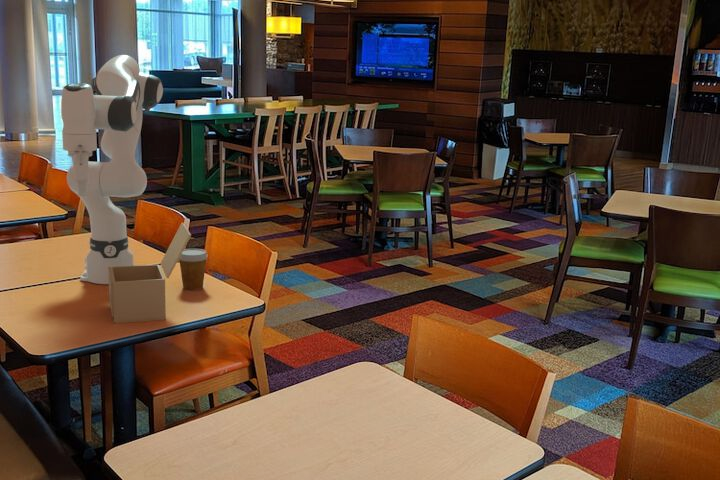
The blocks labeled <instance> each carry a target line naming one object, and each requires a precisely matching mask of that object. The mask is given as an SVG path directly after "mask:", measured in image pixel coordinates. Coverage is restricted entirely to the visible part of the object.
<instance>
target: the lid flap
mask: <svg viewBox="0 0 720 480" xmlns="http://www.w3.org/2000/svg"><path fill="white" fill-rule="evenodd" d="M191 236H192V234H191V233H190V231H189V230H188V228H187V226H186V225H185V223H184V222H181V224H180V225H179V227H178V229H177V231H176V233H175V235H174V237H173V238H172V240H171V243H170V244H169V246H168V248H167V250H166V252H165V254H164V255H163V257H162V259H161V261H160V264H159V265H161V266H160V267H161V268H162V272H163V273H164V277H165V279H170V276H171V274H172V273H173V270H174V269H175V267H176V265H177V263H178V261H179V258H180V256H181V254H182V252H183V250H184V249H185V248H186V246H187V245H188V242H189V241H190V239H191Z"/></svg>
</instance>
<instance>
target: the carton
mask: <svg viewBox="0 0 720 480" xmlns="http://www.w3.org/2000/svg"><path fill="white" fill-rule="evenodd" d="M161 268H162V267H161V266H160V264H142V265H140V264H139V265H134V266H119V267H108V277H109V284H108V296H109V297H108V299H109V307H110V312H111V317H112V318H113V324H125V323H138V322H139V323H140V322H149V321H151V322H153V321H163V320H164V321H165V320H166V318H167V317H166V315H167V313H166V311H167V310H166V277H165V275H164V274H163V273H164V272H163V270H162V269H161Z"/></svg>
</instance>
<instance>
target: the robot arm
mask: <svg viewBox="0 0 720 480" xmlns="http://www.w3.org/2000/svg"><path fill="white" fill-rule="evenodd" d="M94 92H95V93H96V94H94ZM163 94H164V88H163V83H162V80H161V79H160V78H159V77H157V76H155V75H153V74H147V73H143V72H141V71H140V66H139V63H138V62H137V60H136V59H135V58H133V57H132V56H130V55H127V54H120V55H119V54H118V55H116V56H114V57H111V58H110V59H109V60H108V61H107V62H105V63H104V64H103V65H102V66H101V67H100V69H99V70H98V71H97V72H96V75H95V77H94V91H93V87H92V85H90V84H89V83H88V84H87V83H83V82H74V83H69V84H66V85H64V86H63V88H62V92H61V100H60V104H61V105H60V110H61V111H60V113H61V116H60V117H61V119H62V123H63V124H62V126H63V127H62V129H61V131H62V133H61V134H62V135H61V136H62V150H63V151H66V152H67V156H68V157H71V161H72V165H70V167H69V168H68V170H67V173H66V182H67V185H68V187H69V189H70V190H71V191H72V192H73V193H74V194H76V195H77V196H78V197H79V198H80V199H81V201H82V202H83V204H84V205H85V207H86V210H87V212H88V216H89V222H90V234H91V235H90V237H89V238H90V239H89V247H90V251H89V252H88V253H87V254H86V256H85V257H84V264H85V270H84V271H83V273H82V274H81V276H80V277H79V280H80V281H83V282H88V283H92V284H97V285H109V277H108V267H119V266H135V265H134V264H135V263H134V262H135V261H134V253H133V252H131V251H130V250H129V237H128V236H127V216H126V214H125V212H124V211H123V210H122V209H121V208H120V207H117V206H116V205H115V204H114V203H113V201H112V200H111V197H113V198H115V197H116V198H125V199H126V198H131V197H132V198H133V197H139V196H142V194H143V193H144V192H145V190H146V188H147V185H148V184H147V183H148V178H147V174H146V171H145V170H144V169H143V167H141V166H140V165H139V164H138V162H137V161H136V149H137V145H138V141H139V138H140V135H141V131H142V126H143V118H144V117H143V111H144V112H145V113H147V112H148V113H149V112H150V110H151V109H153V108H155V107H156V106H157V105H159V103H160V102H161V100H162V97H163ZM97 130H103V134H102V137H101V140H100V149H101V151H102V153H103V154H104V155H105V156H106V157H108V158H109V159H110V161H107V162H106V161H102V162H101V161H89V157H92V156H93V152H94V151H97V149H98V144H97Z"/></svg>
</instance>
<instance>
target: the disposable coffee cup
mask: <svg viewBox="0 0 720 480" xmlns="http://www.w3.org/2000/svg"><path fill="white" fill-rule="evenodd" d="M208 256H209V255H208V254H207V251H206V250H205V249H202V248H186V249H185V248H184V250H183V252H182V254H181V256H180V258H179V259H178V261H179V267H180V268H179V269H180V274H181V283H182V287H183V289H184V290H187V289H188V290H189V291H196V290H195V289H198V290H200V288H201V289H203V288H202V287H204V279H205V271H206V265H207V259H208Z"/></svg>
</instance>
